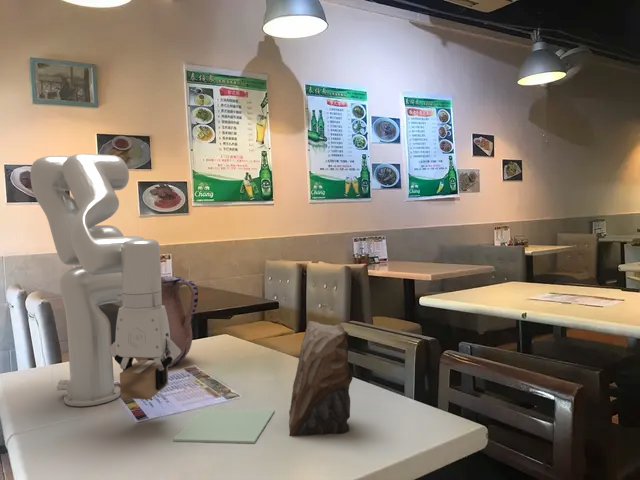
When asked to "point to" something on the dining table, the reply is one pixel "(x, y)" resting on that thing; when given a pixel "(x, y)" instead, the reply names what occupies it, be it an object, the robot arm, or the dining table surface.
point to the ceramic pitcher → (178, 315)
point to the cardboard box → (140, 380)
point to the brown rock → (321, 383)
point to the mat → (225, 426)
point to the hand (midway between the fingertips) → (145, 386)
